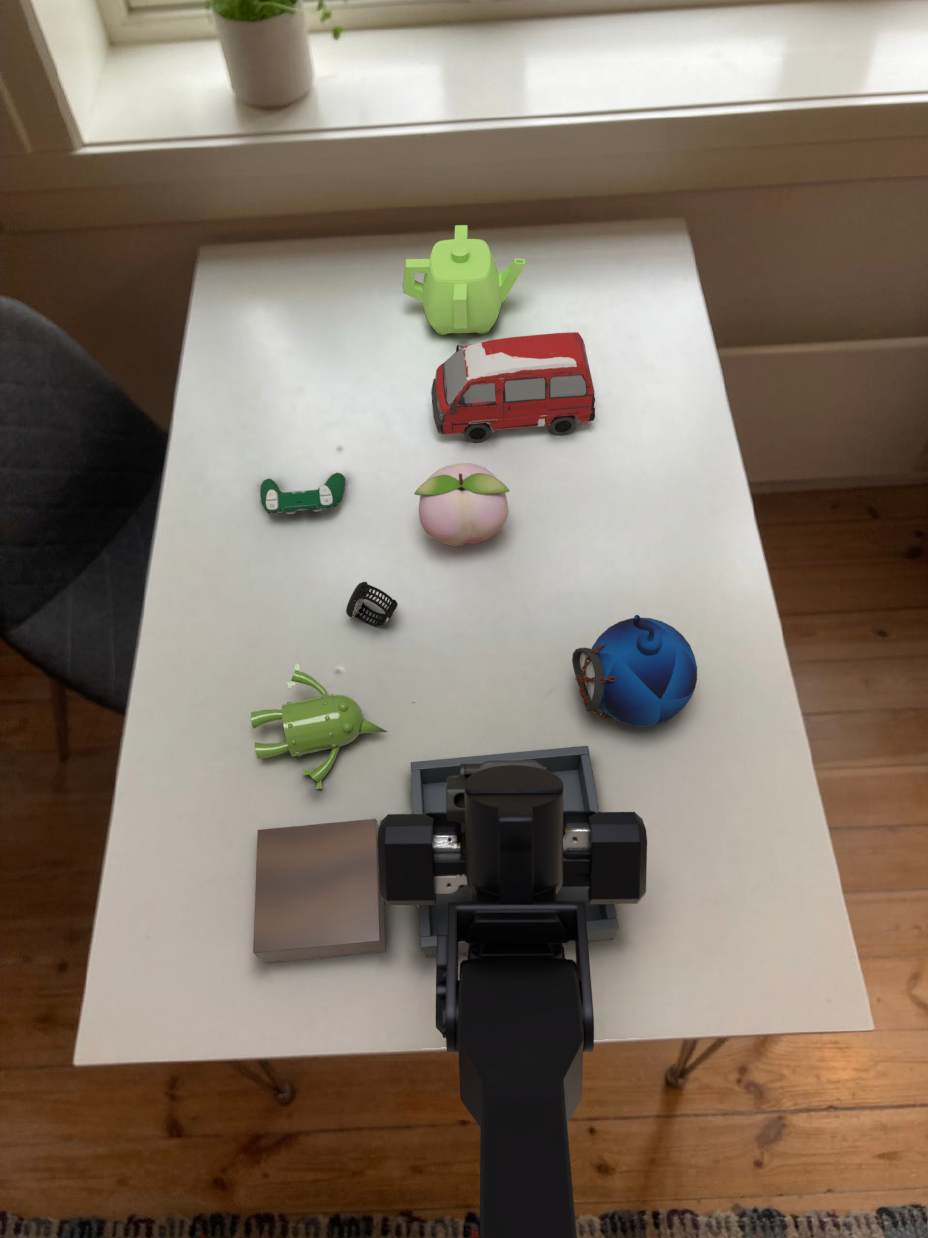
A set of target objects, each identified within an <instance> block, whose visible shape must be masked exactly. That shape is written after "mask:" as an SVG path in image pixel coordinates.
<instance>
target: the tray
mask: <svg viewBox="0 0 928 1238" xmlns="http://www.w3.org/2000/svg"><path fill="white" fill-rule="evenodd" d="M489 760H535V761H537V762H539V763H540V764H541V765H543V766H544V767H545V768H546V770H547V771H550V772H552V773H554V774H556V775H557V776H558V777H559V778H561V780H562V782H563V811H595V812H596V813H598V812H600V809H599V801H598V797H597V791H596V783H595V778H594V771H593V767H592V761H591V755H590V748H589V745H579V746H569V747H557V748H548V749H538V750H536V749H535V750H526V751H514V752H504V753H503V752H502V753H495V754H494V753H493V754H483V755H473V756H461V757H451V758H440V759H429V760H418V761H410V779H411V781H410V782H411V797H412V812H413V813H412V814H426V813H428V812H446V785H447V778H448V777H449V776H458V775H460V765H461V764H475V763H483V762H485V761H489ZM589 888H590V887H561V888H560V890H559V891H558V893H557V899H558V900H584V901H585V911H586V923H587V936H588V943H593V942H605V941H613V940H614V939H615V938H616V936H617V933H618V931H619V929H620V927H619V926H620V925H619V920H618V915H617V909H616V904H589V899H588V889H589ZM448 901H470V888H469V886H468V885H464V887H463V888H458V889H457V891H456V892H454V893H452V894H436V905H418V917H419V918H418V919H419V936H420V948H421V951H422V953H423V956H424V958H426V959H428V958H436V955H437V935H447V929H448ZM572 944H574V945H575V941H569V942H568V943H565V944H564V945H572ZM460 955H468V943H466V942H458V956H460Z"/></svg>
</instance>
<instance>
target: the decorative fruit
mask: <svg viewBox="0 0 928 1238" xmlns="http://www.w3.org/2000/svg"><path fill="white" fill-rule="evenodd" d="M509 492H510V488H508V486H507V485H506V484H505V483H504V482H503V481H501V480H500V479H498V478H497V477H496V475H495V474H494V473H493V472H491V471H490V470H489V469H488V468H486V467H483V466H481V465H479V464H476V463H470V462H462V463H454V464H450V465H445V466H443V467H441V468H439V469H437V470H436V471H435V472H433V473H432V474H431V475H430V476H428V478H427V479H426V480H425V481H424V482H423V483H422V484H420V485H419V487H418V488H417V489H416V490H415V491H414V493H413V495H415V496H419V501H418V503H419V504H418V518H419V522H420V525H421V528H422V529H423V531H424V532H425V533H426V534H427V535H428V536H429V537H430V538H431V539H433V540H434V541H437V542H439V543H442V544H445V545H449V546H455V547H459V546H463V545H466V544H469V543H470V544H479V543H481V542H485V541H486V540H488V539H489V538H491V537H493V536H495V535H496V534H497V533H498V532H499V531H500V530H502V528H503V527H504V525H505V524H506V522H507V519H508V515H509V503H508V499H507V498H508V497H507V495H506V493H509Z"/></svg>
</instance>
